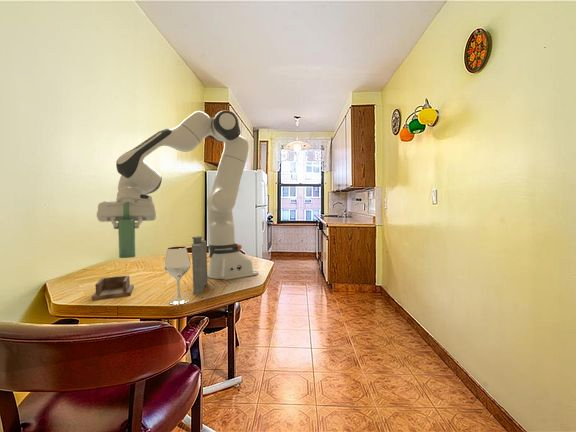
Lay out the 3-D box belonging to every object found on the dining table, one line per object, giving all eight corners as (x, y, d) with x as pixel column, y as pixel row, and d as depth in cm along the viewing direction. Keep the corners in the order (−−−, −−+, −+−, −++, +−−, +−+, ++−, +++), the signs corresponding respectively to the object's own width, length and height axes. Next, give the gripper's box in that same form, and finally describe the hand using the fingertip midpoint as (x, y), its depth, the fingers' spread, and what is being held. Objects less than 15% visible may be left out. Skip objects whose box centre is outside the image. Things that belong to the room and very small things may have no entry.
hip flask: (201, 294, 111) (199, 238, 110) (190, 294, 110) (188, 239, 110) (208, 283, 127) (206, 234, 126) (198, 283, 126) (196, 234, 125)
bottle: (136, 255, 120) (134, 203, 119) (134, 257, 115) (133, 203, 114) (120, 256, 118) (118, 203, 117) (118, 258, 113) (116, 203, 112)
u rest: (133, 287, 123) (133, 274, 123) (130, 295, 112) (129, 281, 112) (98, 291, 119) (98, 277, 118) (91, 299, 107) (91, 285, 107)
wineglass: (183, 306, 98) (181, 249, 97) (160, 305, 99) (158, 249, 99) (196, 298, 106) (194, 246, 105) (174, 297, 107) (172, 246, 107)
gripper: (97, 195, 118) (92, 222, 110) (155, 196, 126) (155, 221, 117) (100, 207, 123) (95, 234, 114) (156, 207, 130) (156, 232, 121)
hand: (126, 227), depth 116 cm, fingers closed on bottle, 5 cm apart
